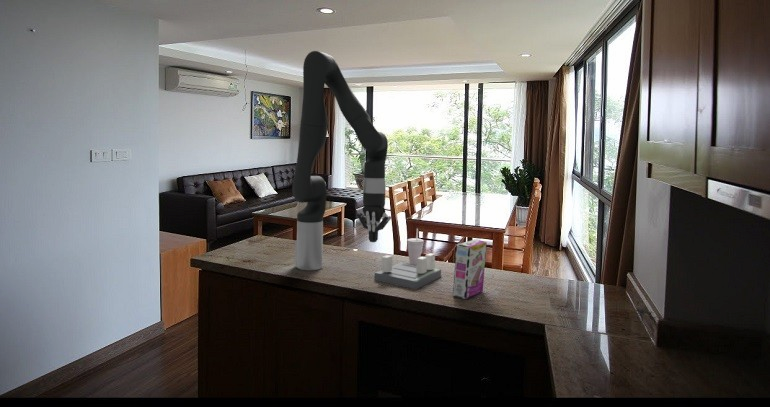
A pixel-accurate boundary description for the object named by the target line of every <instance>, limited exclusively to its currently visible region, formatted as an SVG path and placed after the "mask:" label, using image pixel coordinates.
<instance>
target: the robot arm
mask: <svg viewBox="0 0 770 407" xmlns="http://www.w3.org/2000/svg"><path fill="white" fill-rule="evenodd" d="M303 60H304V61H303V68H302V69H303V70H302V73H303V74H302V75H303V76H302V78H303V83H302V86H303V89H302V90H303V92H302V94H303V95H302V103H301V104H302V106H301V118H300V124H299V138H298V140H299V141H298V149H297V158H296V166H295V170H294V176H293V179H292V189H291V190H292V196H293V198H294V200H295V201H296V202H298V203H306V206H305V207H304V208H303V209H302V210H300V211H298V212H297V214H296V240H295V241H294V267H295V268H296V269H298V270H300V271H317V270H321V269H322V268H323V254H324V253H323V247H324V246H323V245H324V244H323V243H324V242H323V241H324V240H323V239H324V215H325V214H326V205H327V183H326V182H325V179H324V178H323V177H322V176H320V175H312V170H313V166H314V163H315V160H316V158H317V157H318V155H319V154H320V152H321V151H322V149H323V147H324V145H325V144H326V141H327V135H328V122H329V120H328V114H327V108H326V104H325V99H324V92H325V85H326V86H327V88H329V90H330V91H331V92H332V94H333V96H334V98H335V100H336V102H337V104H338V108H339V110H340V112H341V114H342V115H343V117H344V118H345V120H346V122H347V123H348V124H349V126H350V127H351V128H352V129H353V131H354V133H355V135H356V137H357V139H358V142H359V143H360V144H361V146H362V148H364V150H366V152H367V159H366V161H365V163H364V166H363V183H362V204H363V208H362V210H361V212H359V213H357V214H356V216H357V218H358V219H359V222H360V223H361V225H362V226H363V228H364V229H365V230H368V240H369V243H376V242H377V241H379V240H378V239H379V231H381V230H383V229H384V228H385V227H386V226H387V224H388V223H389V222H390V220H391V219H392V216H390V215H388V214H387V213H386V209H385V205H386V160H387V154H388V148H389V145H388V142H389V141H388V139H387V136H386V134H385V133H383V132H381V131H378V130H377V129H376V128H375V126H374V125H373V123H372V119H371V118H372V117H370V115H369V113H368V112H367V110H366V109H365V108H364V106H363V105H362V104H361V102H360V101H359V99H358V98H357V96H356V95H355V93H353V90H352V89H351V88H350V85H349V84H348V82H347V81H346V78H345V77H344V75H343V73H342V71H341V69H340V67H339V64H338V63H337V61H336V59H335V58H334V57H333V56H332V55H331V54H329V53H326V52H323V51H319V50H312V51H309V53H307V55H306V56H305V58H304V59H303Z"/></svg>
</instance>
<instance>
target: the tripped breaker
mask: <svg viewBox="0 0 770 407" xmlns="http://www.w3.org/2000/svg"><path fill="white" fill-rule="evenodd" d="M393 258H394V257H393V255H389V254H386V255H384V256H381V270H382V272H386V273H387V272H389V271H392V266H393Z"/></svg>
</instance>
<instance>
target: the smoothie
mask: <svg viewBox="0 0 770 407" xmlns="http://www.w3.org/2000/svg"><path fill="white" fill-rule="evenodd" d="M418 237H419V228H416V235H415V238H408V239H406V243H407V250H408V260H409V261H408V263H409V264H414V265H417V258H419V257H422V256H421V255H422V251H423V244H424V242H425V241H424V239H421V238H418Z"/></svg>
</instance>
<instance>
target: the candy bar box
mask: <svg viewBox="0 0 770 407" xmlns="http://www.w3.org/2000/svg"><path fill="white" fill-rule="evenodd" d="M487 243H488V242H487V241H483V240H478V239H471V240H468V241H465V242H459V243H457V244H456V245H455V257H454V260H455V261H454V273H453V287H452V296H453V297H455V298H459V299H462V300H467V299H470V298H471V297H474V296H476V295H478V294H481V293H483V291H484V281H485V265H486V257H487V256H486V255H487Z"/></svg>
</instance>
